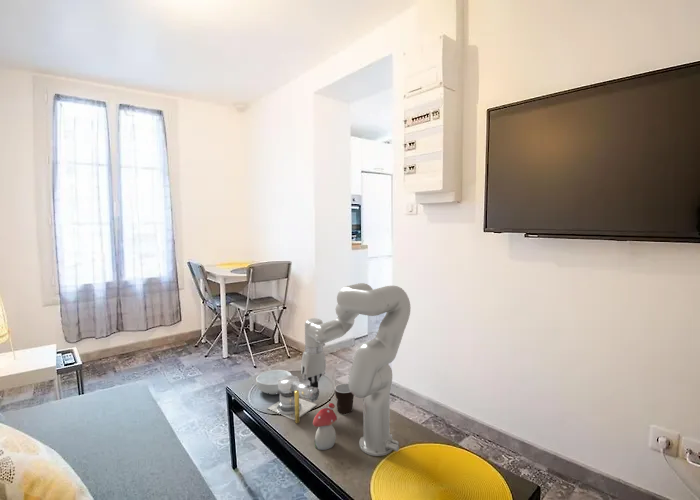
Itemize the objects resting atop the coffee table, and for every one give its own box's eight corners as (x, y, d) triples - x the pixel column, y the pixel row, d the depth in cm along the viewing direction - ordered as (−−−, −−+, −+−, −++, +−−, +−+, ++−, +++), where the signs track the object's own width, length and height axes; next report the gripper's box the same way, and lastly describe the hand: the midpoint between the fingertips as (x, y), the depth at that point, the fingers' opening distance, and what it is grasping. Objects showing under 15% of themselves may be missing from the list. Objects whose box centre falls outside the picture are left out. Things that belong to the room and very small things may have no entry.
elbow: (273, 392, 157) (272, 379, 156) (289, 384, 164) (288, 372, 164) (307, 406, 145) (306, 392, 145) (322, 396, 153) (322, 383, 152)
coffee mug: (353, 416, 153) (353, 393, 152) (333, 414, 154) (332, 392, 153) (357, 402, 164) (356, 381, 163) (338, 400, 165) (337, 379, 165)
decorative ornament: (334, 437, 139) (333, 399, 137) (340, 447, 133) (340, 408, 131) (310, 443, 135) (310, 404, 134) (315, 453, 129) (315, 413, 128)
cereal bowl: (298, 385, 181) (297, 371, 180) (282, 401, 165) (281, 386, 165) (267, 380, 186) (267, 367, 186) (249, 396, 170) (249, 381, 170)
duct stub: (297, 425, 147) (296, 392, 145) (264, 411, 157) (263, 381, 156) (321, 407, 160) (321, 377, 159) (289, 395, 170) (289, 368, 169)
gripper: (324, 342, 160) (324, 381, 162) (293, 349, 151) (294, 391, 153) (333, 347, 154) (333, 388, 156) (302, 355, 145) (303, 399, 147)
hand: (314, 390), depth 155 cm, fingers closed
